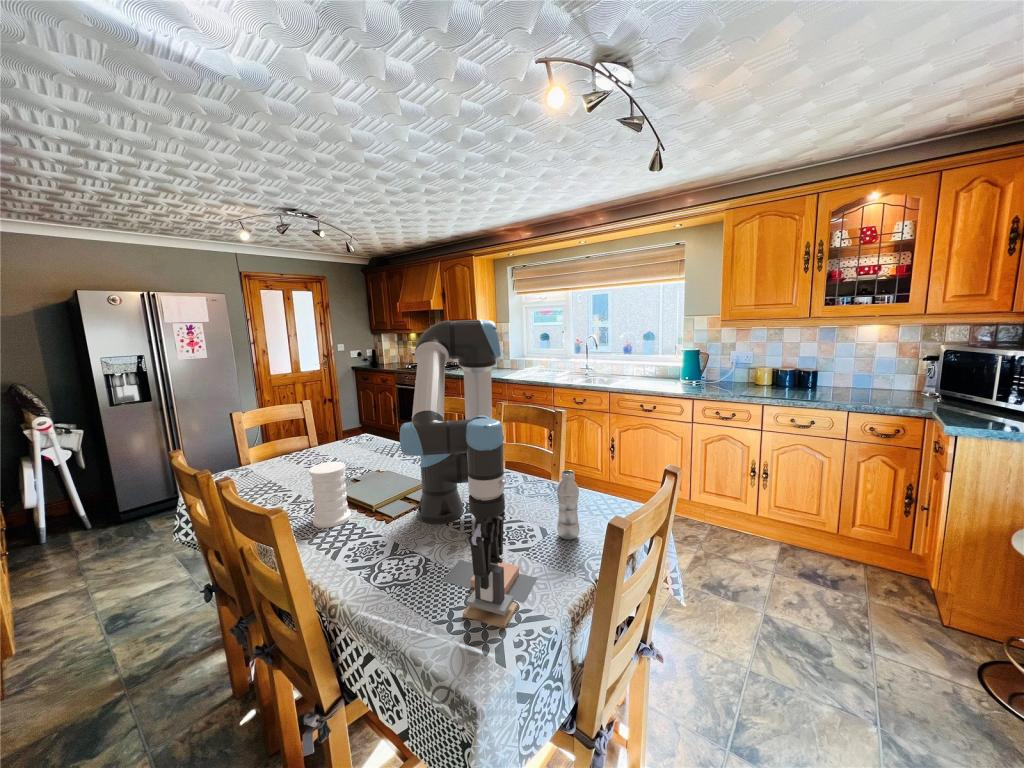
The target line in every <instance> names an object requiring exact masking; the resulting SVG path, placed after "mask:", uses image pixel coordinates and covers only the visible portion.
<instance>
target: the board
mask: <svg viewBox="0 0 1024 768" xmlns="http://www.w3.org/2000/svg"><path fill="white" fill-rule="evenodd" d="M517 608H518V603H516V602H512V604H511V605H510V607H509V609H508V610H507V612H506V614H505V616H504V615H500V614H497V613H493V612H489V611H486V610H482V609H478V608H475V607H471V606H468V605H467V607H466V608H465V609H464V611H463V612H462V617H463V618H467V619H469V620H474V621H477V622H481V623H484V624H487V625H490V626H495V627H498V628H501V629H503V630H504V629H507V627H508V625H509V623H510V621H511V619H512V617H513V616H514V614H515V612H516V610H517Z"/></svg>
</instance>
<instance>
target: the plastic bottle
mask: <svg viewBox="0 0 1024 768" xmlns="http://www.w3.org/2000/svg"><path fill="white" fill-rule="evenodd" d="M560 478H561V481H560V482H558V484H557V487H556V495H557V501H558V503H557V505H558V515H557V516H558V518H557V519H558V520H557V524H556V530H557V535H558V536H559V537H560V538H561V539H563V540H568V541H569V540H570V541H571V540H575V539H577V538H578V536H579V535H580V523H579V517H578V516H579V515H578V504H579V503H578V502H579V497H580V496H579V495H580V488H579V486H578V485H577V482H576V481H575V471H573V470H570V469H569V470H568V469H565V470H563V471H561V475H560Z"/></svg>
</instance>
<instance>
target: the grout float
mask: <svg viewBox="0 0 1024 768" xmlns="http://www.w3.org/2000/svg"><path fill="white" fill-rule="evenodd" d="M490 572H493V601H492V602H490V601H486V600H483V599H481V596H480V577H479V576H475V590H473V591H472V593H471V594H470V595H469V597H468V598H467V600H466V602H465V603H466V606H467V607H468V606H471V607H475V608H478V609H482V610H486V611H489V612H493V613H497V614H500V615H504V616H505V614H506V612H507V610H508V609H509V607H510V605H511V604H512V602H513V601H514V600H513V596H510V595H506V594H504V567H501V566H496V565H492V564H491V568H490ZM513 603H514V602H513Z"/></svg>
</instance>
